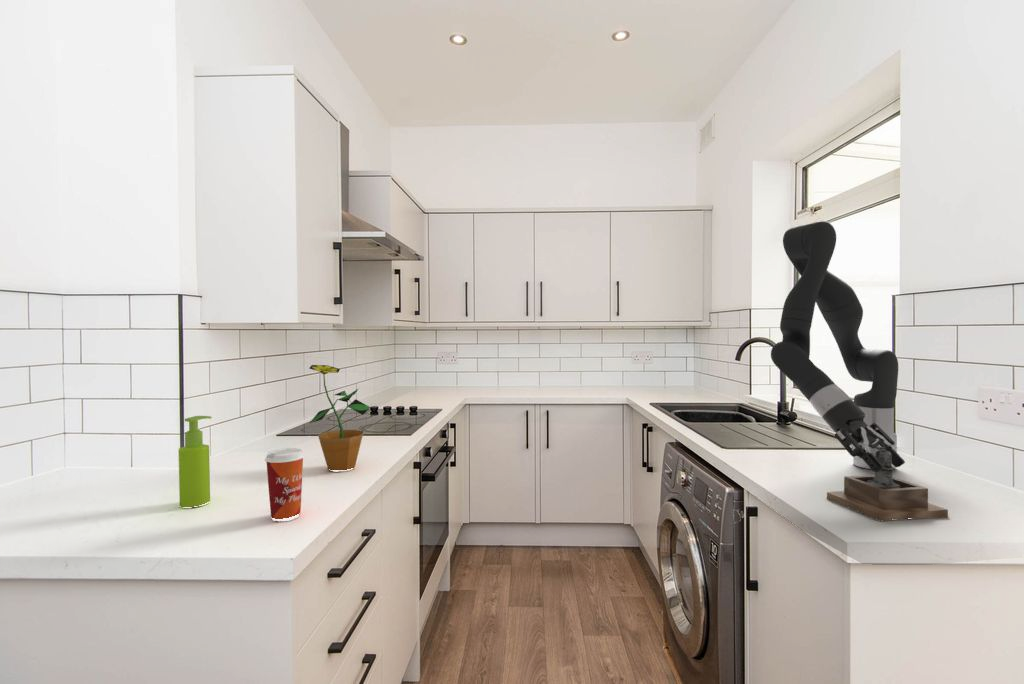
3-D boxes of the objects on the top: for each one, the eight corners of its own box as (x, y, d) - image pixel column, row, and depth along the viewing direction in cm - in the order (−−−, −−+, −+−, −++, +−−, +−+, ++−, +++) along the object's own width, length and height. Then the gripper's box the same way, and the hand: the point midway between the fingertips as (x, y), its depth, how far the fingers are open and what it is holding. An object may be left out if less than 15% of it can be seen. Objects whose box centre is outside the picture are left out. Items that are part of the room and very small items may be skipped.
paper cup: (280, 527, 100) (278, 458, 100) (258, 519, 104) (256, 453, 104) (313, 514, 107) (312, 449, 107) (291, 508, 111) (290, 445, 111)
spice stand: (888, 494, 117) (888, 471, 117) (947, 516, 104) (948, 490, 103) (826, 498, 115) (827, 474, 115) (879, 521, 101) (879, 494, 101)
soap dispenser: (220, 499, 117) (218, 414, 116) (192, 510, 110) (190, 420, 110) (201, 497, 119) (199, 413, 118) (173, 507, 112) (171, 418, 112)
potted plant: (314, 482, 130) (312, 367, 129) (304, 465, 146) (302, 363, 145) (382, 472, 139) (381, 364, 138) (365, 457, 155) (364, 361, 154)
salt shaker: (906, 505, 106) (906, 449, 106) (875, 503, 107) (875, 448, 107) (890, 496, 112) (891, 443, 111) (861, 495, 113) (861, 442, 113)
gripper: (830, 400, 112) (887, 462, 102) (865, 396, 119) (922, 454, 109) (806, 420, 117) (859, 481, 107) (841, 415, 124) (893, 472, 114)
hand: (890, 467), depth 108 cm, fingers open, 8 cm apart
